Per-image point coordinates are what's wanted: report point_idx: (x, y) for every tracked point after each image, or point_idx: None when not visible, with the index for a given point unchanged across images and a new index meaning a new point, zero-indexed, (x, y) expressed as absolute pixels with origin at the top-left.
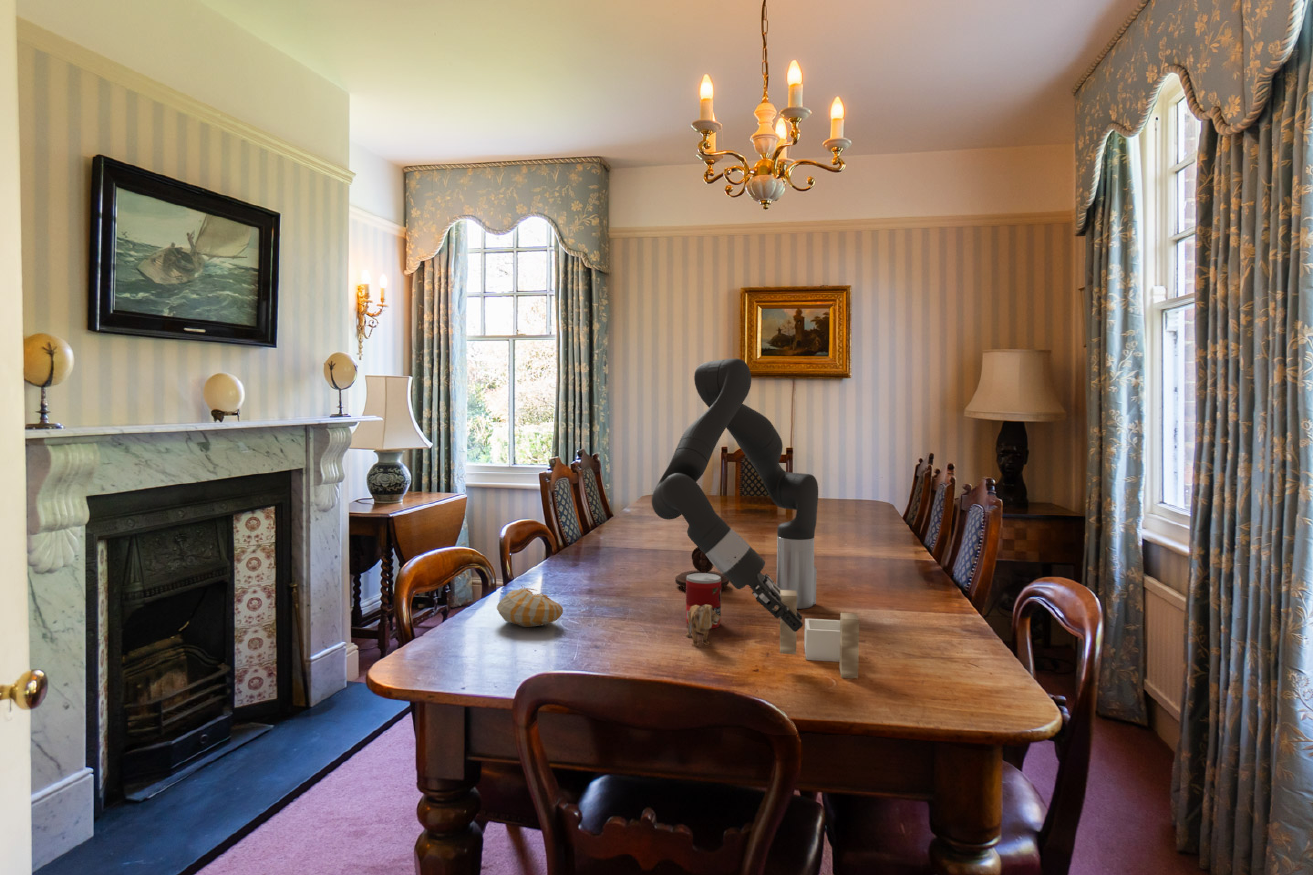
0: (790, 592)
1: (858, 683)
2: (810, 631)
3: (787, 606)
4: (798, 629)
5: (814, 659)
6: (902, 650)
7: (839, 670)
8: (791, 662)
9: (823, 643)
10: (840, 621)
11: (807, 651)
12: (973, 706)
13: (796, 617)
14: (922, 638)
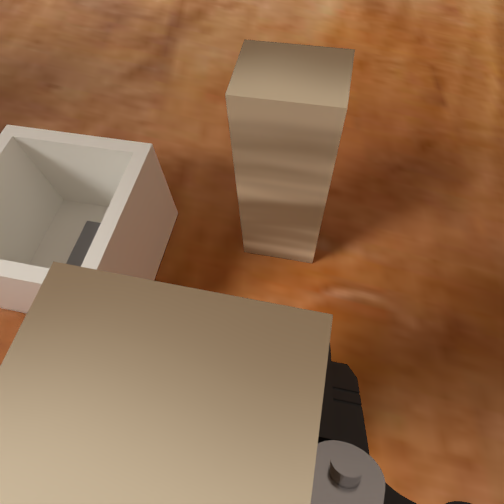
0: (131, 362)
1: (357, 228)
2: None
3: (357, 471)
4: None
5: None
6: (110, 74)
7: (249, 252)
8: None
9: (135, 250)
10: (238, 131)
11: None
12: (468, 53)
13: (331, 378)
14: (40, 22)
